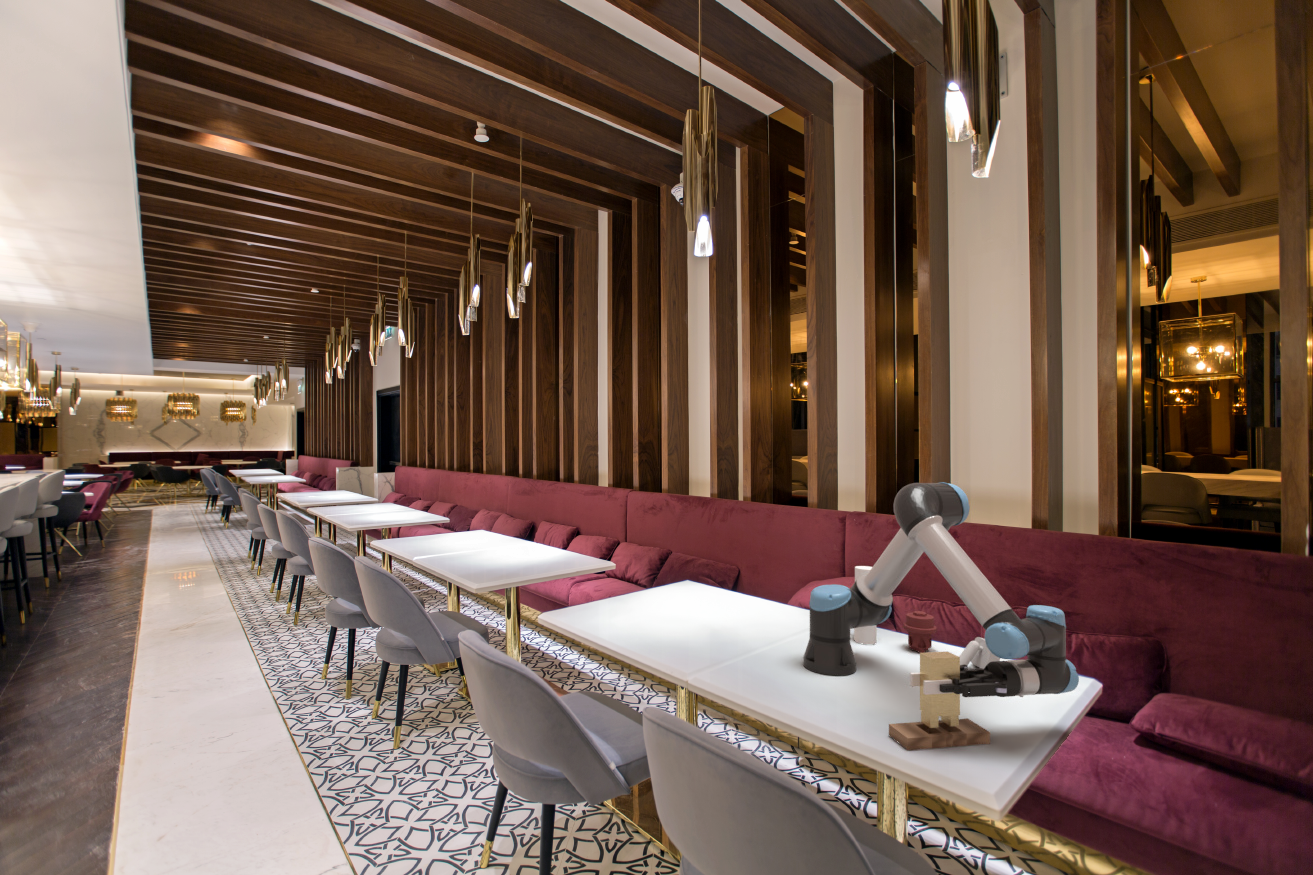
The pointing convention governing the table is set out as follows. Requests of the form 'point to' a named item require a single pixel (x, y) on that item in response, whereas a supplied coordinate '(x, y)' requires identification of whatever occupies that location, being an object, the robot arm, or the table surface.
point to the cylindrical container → (868, 632)
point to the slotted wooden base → (938, 735)
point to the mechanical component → (919, 630)
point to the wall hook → (977, 654)
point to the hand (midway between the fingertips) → (917, 683)
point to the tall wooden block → (939, 704)
